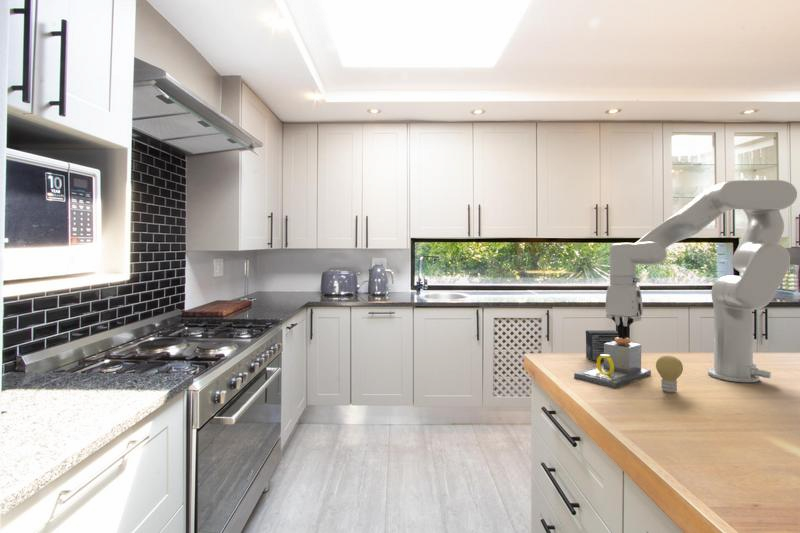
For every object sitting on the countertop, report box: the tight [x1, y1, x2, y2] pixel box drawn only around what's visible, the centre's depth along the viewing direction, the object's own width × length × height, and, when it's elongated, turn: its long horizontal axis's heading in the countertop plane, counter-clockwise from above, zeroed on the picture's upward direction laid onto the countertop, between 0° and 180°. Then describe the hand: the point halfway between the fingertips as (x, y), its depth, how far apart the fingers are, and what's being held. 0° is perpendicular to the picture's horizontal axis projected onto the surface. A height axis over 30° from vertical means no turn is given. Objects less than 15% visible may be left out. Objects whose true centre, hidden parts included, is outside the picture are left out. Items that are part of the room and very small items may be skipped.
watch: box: [595, 354, 614, 375], centre depth 131 cm, size 6×3×6 cm, turn 17°
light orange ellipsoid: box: [615, 337, 631, 345], centre depth 137 cm, size 4×4×8 cm
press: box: [573, 341, 652, 389], centre depth 134 cm, size 13×22×10 cm, turn 126°
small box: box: [585, 329, 619, 362], centre depth 155 cm, size 11×6×10 cm, turn 84°
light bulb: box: [655, 355, 684, 394], centre depth 119 cm, size 6×6×10 cm
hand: (623, 337), depth 137 cm, fingers closed
